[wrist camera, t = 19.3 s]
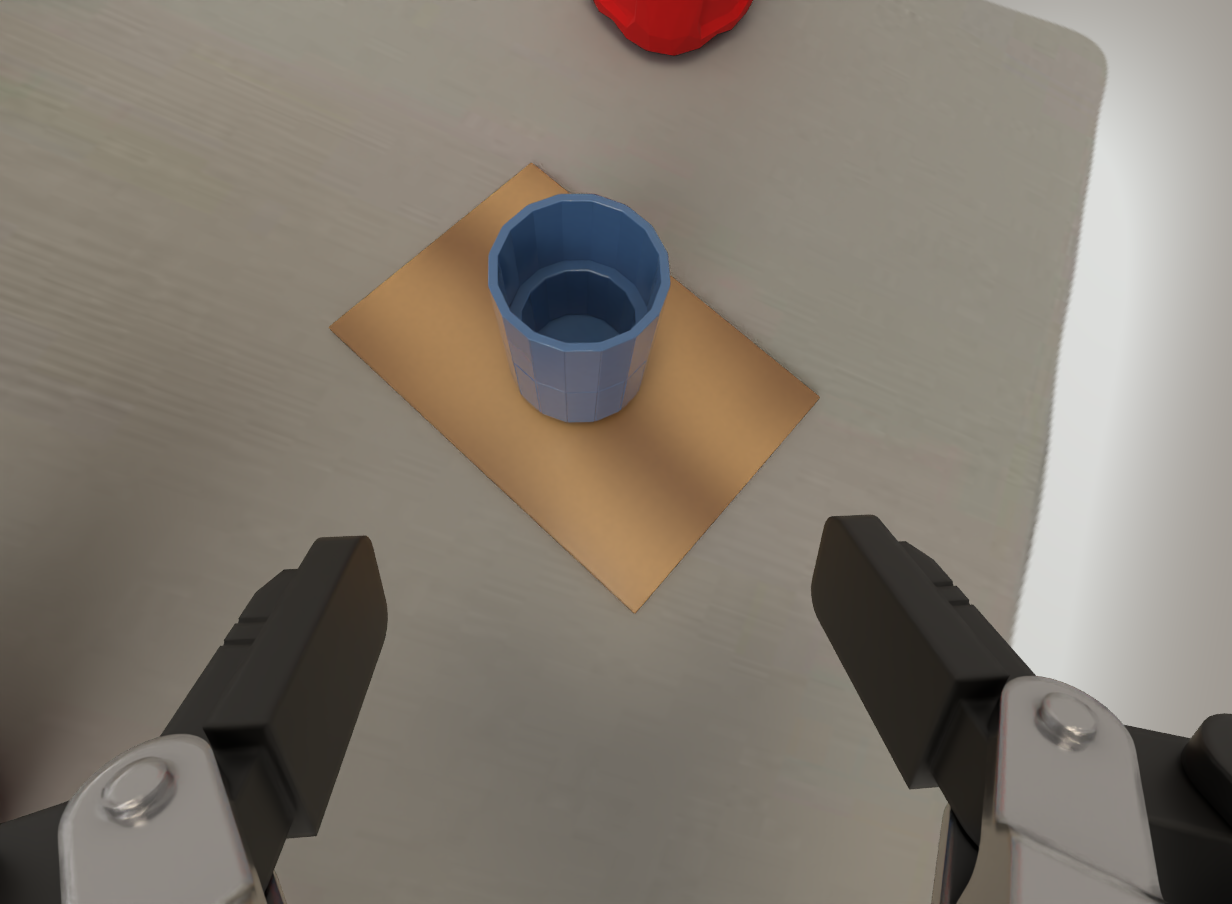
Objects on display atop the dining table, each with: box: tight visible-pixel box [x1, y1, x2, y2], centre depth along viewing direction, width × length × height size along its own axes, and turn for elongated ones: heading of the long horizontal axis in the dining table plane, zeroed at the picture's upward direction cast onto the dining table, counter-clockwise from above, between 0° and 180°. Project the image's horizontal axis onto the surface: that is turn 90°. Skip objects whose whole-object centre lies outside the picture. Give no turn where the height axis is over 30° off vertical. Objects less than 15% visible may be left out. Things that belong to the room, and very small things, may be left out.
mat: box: [329, 163, 820, 613], centre depth 29 cm, size 14×20×1 cm
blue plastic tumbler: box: [488, 194, 671, 423], centre depth 24 cm, size 6×6×8 cm
